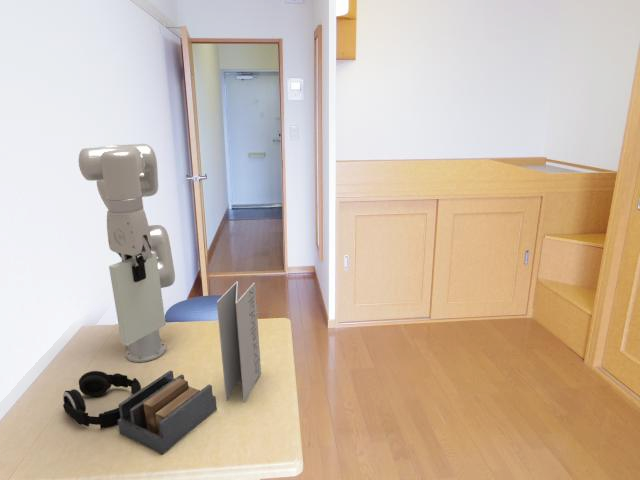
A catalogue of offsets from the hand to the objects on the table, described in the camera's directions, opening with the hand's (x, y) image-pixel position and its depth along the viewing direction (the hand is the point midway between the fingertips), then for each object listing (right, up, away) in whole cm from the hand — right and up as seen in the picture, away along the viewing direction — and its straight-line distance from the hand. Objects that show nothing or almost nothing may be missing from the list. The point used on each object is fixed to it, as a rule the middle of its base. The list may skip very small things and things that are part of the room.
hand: (136, 278), depth 112 cm
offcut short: (+9, -39, +7) cm, 40 cm away
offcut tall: (+5, -38, +9) cm, 39 cm away
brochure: (+22, -33, +23) cm, 46 cm away
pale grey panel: (0, -14, +4) cm, 15 cm away
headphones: (-14, -37, +15) cm, 43 cm away
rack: (+5, -38, +9) cm, 39 cm away
